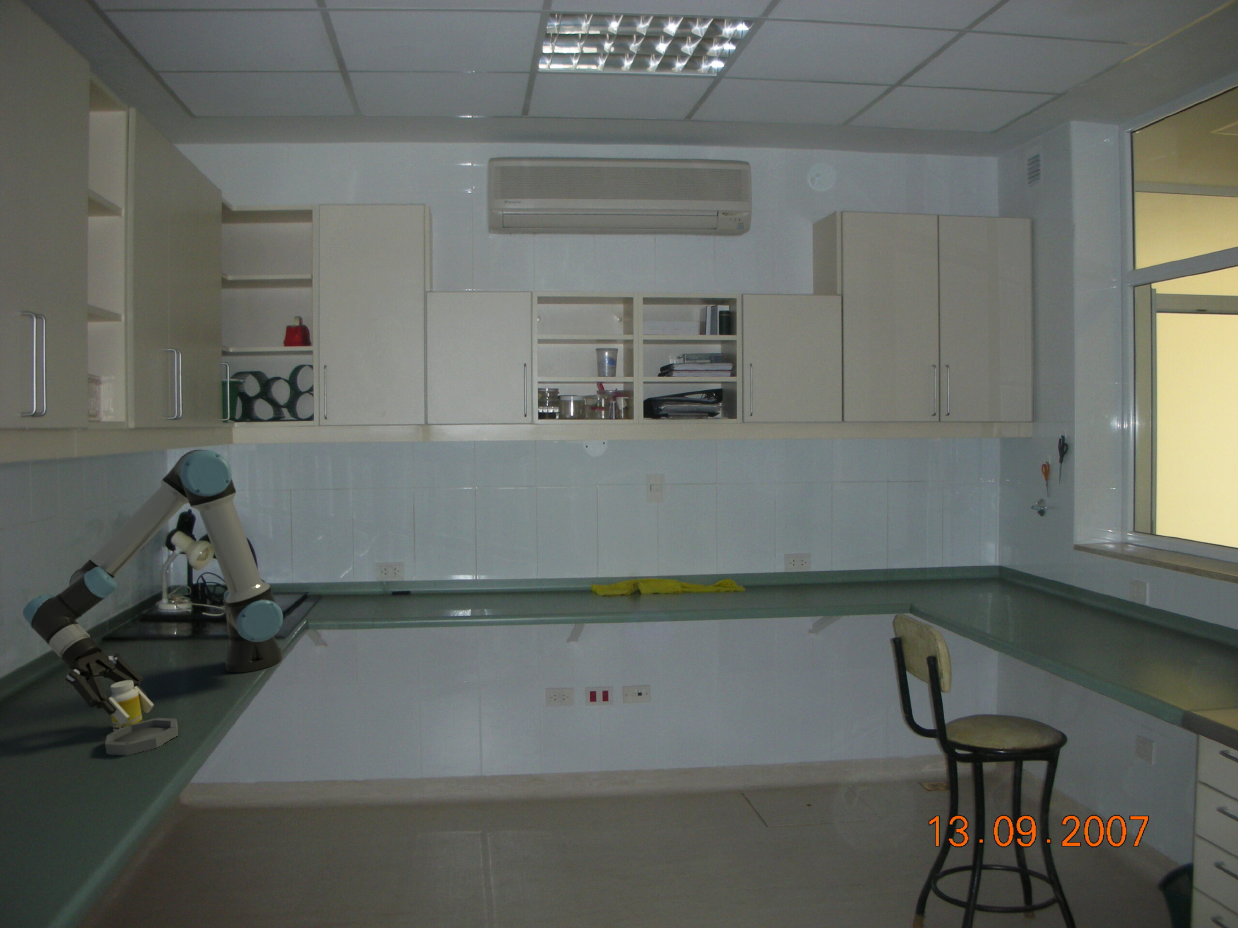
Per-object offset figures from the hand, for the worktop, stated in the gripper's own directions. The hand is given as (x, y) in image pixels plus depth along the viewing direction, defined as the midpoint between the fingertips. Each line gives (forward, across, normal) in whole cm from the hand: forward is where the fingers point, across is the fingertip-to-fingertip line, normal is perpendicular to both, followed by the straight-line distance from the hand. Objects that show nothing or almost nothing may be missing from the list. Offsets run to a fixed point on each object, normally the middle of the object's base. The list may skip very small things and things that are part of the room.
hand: (138, 714), depth 194 cm
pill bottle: (0, 0, -5) cm, 5 cm away
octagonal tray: (+8, +6, +3) cm, 10 cm away
